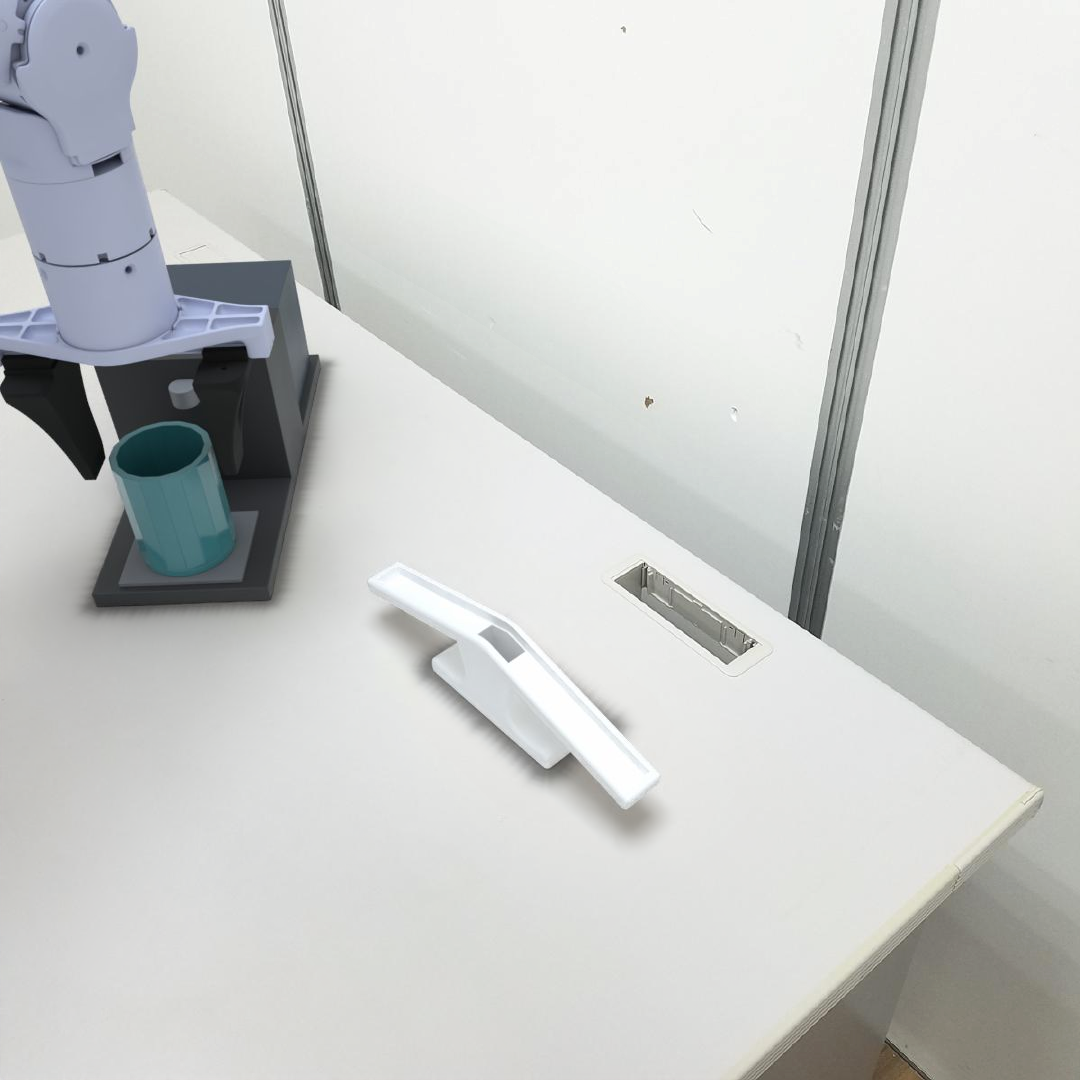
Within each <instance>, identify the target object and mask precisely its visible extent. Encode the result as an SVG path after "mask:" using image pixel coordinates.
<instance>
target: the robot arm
mask: <svg viewBox="0 0 1080 1080" xmlns="http://www.w3.org/2000/svg"><path fill="white" fill-rule="evenodd" d="M118 13H119V12H118V11H117V9H116V7H115V5H114V4H113V2H112V0H0V165H1V168H2V170H3V174H4V177H5V179H6V183H7V185H8V188H9V191H10V194H11V197H12V199H13V202H14V205H15V208H16V211H17V213H18V214H17V215H18V216H19V219H20V222H21V225H22V228H23V232H24V234H25V236H26V240H27V242H28V245H29V248H30V251H31V255H32V257H33V261H34V262H35V263H34V264H35V266H36V269H37V272H38V273H39V274H38V275H39V277H40V280H41V283H42V286H43V288H44V291H45V294H46V297H47V300H48V302H49V303H48V304H49V305H44V306H40V307H35V308H31V309H25V310H19V311H14V312H9V313H0V368H1V367H3V371H2V373H3V375H4V378H3V380H2V381H1V383H0V395H1V397H2V399H3V400H4V402H5V404H7V405H8V406H10V407H11V408H14V409H15V410H16V411H18V412H20V413H21V414H23V415H24V416H25V417H27V418H28V419H29V420H30V421H32V422H33V423H35V424H36V425H37V426H38V427H39V428H40V429H41V430H42V431H43V432H45V434H47V435H48V437H50V439H52V441H53V442H54V443H55V444H56V445H57V447H59V448H60V450H61V451H62V452H63V453H64V455H65V456H66V457H67V458H68V459H69V461H70V462H71V464H72V465H73V466H74V467H75V469H76V470H77V471H78V473H79V474H80V476H81V477H82V478H83V480H84V481H97V479H98V477H99V475H100V473H101V470H102V467H103V465H104V463H105V460H106V458H107V457H106V453H105V447H104V443H103V439H102V436H101V433H100V430H99V428H98V425H97V422H96V419H95V417H94V414H93V411H92V409H91V406H90V404H89V400H88V397H87V392H86V388H85V383H84V379H83V374H82V367H81V365H87V366H93V367H94V366H117V365H124V364H130V363H135V362H139V361H144V360H148V359H153V358H158V357H162V356H167V355H171V354H198V353H202V357H203V358H202V361H201V363H199V366H198V369H197V372H196V374H195V377H194V380H193V383H192V386H193V389H194V392H195V393H196V395H197V397H198V398H199V400H200V402H201V404H202V406H203V408H204V410H205V413H206V415H207V417H208V420H209V422H210V425H211V428H212V430H213V434H214V438H215V443H216V447H217V452H218V457H219V461H220V465H221V467H222V470H223V472H224V474H225V475H236V474H238V472H239V468H240V465H241V461H242V457H243V444H242V417H243V406H244V398H245V392H246V386H247V381H248V376H249V372H250V368H251V363H252V360H253V358H268V357H269V356H270V352H271V349H272V346H273V341H274V338H275V337H274V332H273V327H272V323H271V318H270V313H269V308H268V306H267V305H239V304H231V303H224V302H218V301H212V300H205V299H199V298H193V297H186V296H180V295H174V293H173V289H172V286H171V282H170V278H169V275H168V271H167V267H166V265H167V264H166V260H165V257H164V252H163V250H162V249H163V248H162V245H161V241H160V238H159V234H158V231H157V227H156V223H155V219H154V216H153V211H152V209H151V208H152V207H151V204H150V201H149V200H150V199H149V196H148V193H147V189H146V184H145V180H144V177H143V173H142V170H141V166H140V163H139V159H138V155H137V152H136V148H135V144H134V140H133V139H134V138H133V132H134V131H136V129H137V127H136V124H135V121H134V117H133V113H132V108H131V92H132V86H133V83H134V80H135V77H136V73H137V68H138V60H139V59H138V58H139V56H138V55H139V51H138V49H139V48H138V39H137V32H136V28H135V27H134V26H128V25H127V24H125V23H123V22H122V20H121V18H120V16H119V14H118Z"/></svg>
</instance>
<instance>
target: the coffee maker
mask: <svg viewBox="0 0 1080 1080" xmlns="http://www.w3.org/2000/svg"><path fill="white" fill-rule="evenodd" d="M166 267H167V271H168V275H169V278H170V282H171V286H172V289H173V293H174V295H180V296H186V297H193V298H199V299H205V300H212V301H218V302H224V303H231V304H239V305H267V306H268V308H269V313H270V318H271V323H272V327H273V332H274V337H275V338H274V341H273V346H272V349H271V352H270V356H269V357H268V358H253V360H252V363H251V368H250V372H249V376H248V381H247V386H246V392H245V398H244V406H243V417H242V444H243V457H242V461H241V465H240V468H239V472H238V474H236V475H225V474H224V472H223V470H222V467H221V465H220V461H219V457H218V452H217V447H216V443H215V438H214V434H213V430H212V428H211V425H210V422H209V420H208V417H207V415H206V413H205V410H204V408H203V406H202V404H201V402H200V400H199V398H198V397H197V395H196V393H195V392H194V389H193V386H192V383H193V380H194V377H195V374H196V372H197V369H198V366H199V363H201V361H202V358H203V357H202V353H198V354H171V355H167V356H162V357H158V358H153V359H148V360H144V361H139V362H135V363H130V364H124V365H117V366H93V368H94V371H95V374H96V377H97V380H98V383H99V386H100V388H101V391H102V395H103V398H104V401H105V404H106V407H107V409H108V412H109V415H110V419H111V421H112V424H113V427H114V429H115V433H116V435H117V439H118V442H119V441H120V440H121V439H122V438H123V437H124V436H126V435H127V434H129V433H131V432H133V431H135V430H137V429H139V428H141V427H143V426H147V425H151V424H155V423H159V422H170V421H182V422H187V423H191V424H196V425H198V426H199V427H201V428H202V429H203V430H205V431H206V432H207V433H208V435H209V437H210V440H211V442H212V446H213V450H214V453H215V457H216V461H217V464H218V468H219V472H220V475H221V479H222V483H223V486H224V490H225V494H226V497H227V501H228V505H229V508H230V512H231V515H232V519H233V523H234V526H235V532H236V544H235V547H234V549H233V551H232V552H231V554H230V555H229V556H228V557H227V558H226V559H225V560H224V561H223V562H221V563H220V564H219V565H217V566H215V567H214V568H212V569H210V570H207V571H205V572H202V573H199V574H196V575H191V576H184V577H172V576H166V575H162V574H159V573H157V572H154V571H153V570H151V569H150V568H149V567H148V566H147V565H146V563H145V562H144V559H143V557H142V555H141V552H140V549H139V546H138V544H137V541H136V538H135V535H134V532H133V529H132V527H131V524H130V521H129V518H128V515H127V512H126V510H125V508H124V509H123V511H122V514H121V516H120V519H119V521H118V524H117V526H116V529H115V532H114V534H113V538H112V540H111V543H110V545H109V548H108V550H107V553H106V556H105V558H104V561H103V564H102V566H101V569H100V571H99V574H98V576H97V580H96V582H95V585H94V587H93V590H92V593H91V597H92V599H93V602H94V605H95V606H96V607H117V606H118V607H119V606H142V605H143V606H144V605H146V606H147V605H170V604H194V603H196V604H197V603H219V602H220V603H221V602H222V603H223V602H244V601H245V602H246V601H270V600H271V599H272V595H273V591H274V585H275V581H276V577H277V572H278V567H279V562H280V558H281V554H282V548H283V544H284V539H285V534H286V531H287V525H288V521H289V515H290V511H291V506H292V503H293V502H292V501H293V496H294V493H295V489H296V485H297V480H298V479H297V478H298V473H299V469H300V464H301V460H302V455H303V450H304V446H305V441H306V436H307V431H308V428H309V427H308V426H309V422H310V418H311V417H310V416H311V412H312V408H313V403H314V400H315V399H314V398H315V394H316V389H317V384H318V380H319V375H320V371H321V365H322V364H321V359H320V355H319V354H318V353H316V354H315V353H314V354H310V351H309V348H308V347H309V346H308V343H307V337H306V332H305V326H304V321H303V315H302V310H301V304H300V300H299V295H298V288H297V284H296V279H295V273H294V268H293V263H292V260H291V259H282V260H281V259H280V260H279V259H278V260H258V261H257V260H256V261H253V260H252V261H229V262H227V261H226V262H205V263H203V262H201V263H178V264H177V263H176V264H175V263H174V264H166Z"/></svg>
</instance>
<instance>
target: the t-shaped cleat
mask: <svg viewBox="0 0 1080 1080" xmlns="http://www.w3.org/2000/svg"><path fill="white" fill-rule="evenodd" d="M366 585H367V587H368V590H369V592H370V593H371V594H373V595H375V596H376V597H378V598H380V599H381V600H383V601H385V602H387V603H388V604H391V605H392V606H394V607H396V608H397V609H400V610H401V611H402V612H405V614H408V615H410V616H411V617H413V618H415V619H417V620H419V621H420V622H422V623H424V624H426V625H428V626H429V627H431V628H433V629H434V630H437V631H438V632H440V633H441V634H444V635H445V636H447V637H449V638H450V639H452V640H454V641H456V642H455V643H454V644H452V645H451V646H449V647H447V648H446V649H445V650H443V651H441V652H440V653H438V654H437V655H435V656H433V657H432V658H431V667H432V670H433V672H434V673H436V674H437V676H439V677H440V678H441V679H442V680H443V681H444V682H445V683H447V684H448V685H449V686H450V687H451V688H453V689H454V690H455V691H456V692H457V693H458V694H459V695H460V696H461V697H462V698H464V699H465V700H466V701H467V702H468V703H469V704H470V705H472V706H473V707H474V708H475V709H476V710H478V711H479V713H481V714H482V715H483V716H485V717H486V718H487V719H488V720H489V721H490V722H491V723H492V724H494V725H495V727H497V728H498V729H499V730H500V731H501V732H502V733H504V734H505V735H506V736H507V737H508V738H510V739H511V740H512V741H513V742H514V743H515V744H516V745H517V746H518V747H519V748H521V749H522V750H523V751H524V752H525V753H526V754H528V756H530V757H531V758H532V759H533V760H534V761H536V762H537V763H538V764H539V765H540V766H541V767H542V768H544V769H546V770H549V769H551V768H552V767H553V766H555V765H556V764H558V762H560V761H561V760H562V759H564V758H565V757H567V756H568V755H570V753H571V754H572V755H573V756H574V758H576V760H577V761H578V762H579V763H580V764H581V765H582V766H583V768H585V769H586V770H587V772H588V773H589V774H590V775H591V776H592V777H593V778H594V780H595V781H597V783H598V784H599V785H600V786H601V787H602V788H603V789H604V790H605V791H606V792H607V793H608V794H609V796H610V797H611V798H612V799H613V800H614V801H615V802H616V804H618V806H619V807H620V808H622V809H623V810H628V809H630V808H631V807H632V806H633V805H635V804H636V803H638V801H639V800H642V798H643V797H645V796H646V795H647V794H648V793H649V792H651V791H652V790H653V789H654V788H655V787H657V786H658V785H659V783H660V781H661V778H662V775H661V773H660V772H659V770H657V769H656V768H655V767H654V766H653V765H652V764H651V763H650V762H649V761H648V760H647V758H646V757H645V756H644V755H643V754H642V753H640V751H639V750H638V749H637V748H636V747H635V746H634V745H633V744H632V743H631V741H629V740H628V739H627V738H626V737H625V736H624V734H622V732H621V731H620V730H619V729H618V728H617V727H616V726H615V724H613V723H612V722H611V721H610V720H609V718H607V717H606V715H604V714H603V712H602V711H601V710H600V709H599V708H598V707H597V706H596V705H595V704H594V702H592V701H591V699H590V698H589V697H588V696H587V695H586V694H585V693H583V691H582V690H581V689H580V687H578V686H577V685H576V684H575V683H574V682H573V681H572V680H571V679H570V677H568V675H567V674H566V673H564V671H563V670H561V668H560V667H559V666H558V665H557V664H556V663H555V662H554V661H553V660H552V659H551V658H550V657H549V655H547V654H546V652H545V651H544V650H543V649H542V648H541V647H540V646H539V645H538V643H536V642H535V641H534V639H532V638H531V637H530V635H528V633H527V632H526V631H525V630H524V629H523V628H521V627H520V625H518V624H517V623H515V622H514V621H513V620H512V619H511V618H509V617H507V616H505V615H503V614H502V613H500V612H497V611H495V610H494V609H491V608H489V607H488V606H485V605H484V604H482V603H480V602H478V601H476V600H474V599H472V598H470V597H468V596H466V595H464V594H462V593H460V592H459V591H456V590H454V589H453V588H450V587H448V586H446V585H444V584H443V583H440V582H439V581H437V580H435V579H433V578H431V577H429V576H427V575H425V574H423V573H421V572H419V571H417V570H415V569H414V568H411V567H410V566H408V565H405V564H404V563H401V562H400V561H397V562H395V563H393V564H391V565H390V566H388V567H386V568H385V569H383V570H381V571H380V572H378V573H376V574H374V575H373V576H371V577H369V578H368V579H367V581H366Z"/></svg>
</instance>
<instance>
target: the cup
mask: <svg viewBox="0 0 1080 1080" xmlns="http://www.w3.org/2000/svg"><path fill="white" fill-rule="evenodd" d="M108 462H109V466H110V470H111V473H112V475H113V479H114V481H115V484H116V487H117V489H118V492H119V495H120V498H121V501H122V504H123V507H124V509H125V510H126V512H127V515H128V518H129V521H130V524H131V527H132V529H133V532H134V535H135V538H136V541H137V544H138V546H139V549H140V552H141V555H142V557H143V559H144V562H145V563H146V565H147V566H148V567H149V568H150V569H151V570H153V571H154V572H157V573H159V574H162V575H166V576H172V577H184V576H191V575H196V574H199V573H202V572H205V571H207V570H210V569H212V568H214V567H215V566H217V565H219V564H220V563H221V562H223V561H224V560H225V559H226V558H227V557H228V556H229V555H230V554H231V552H232V551H233V549H234V547H235V544H236V532H235V526H234V523H233V519H232V515H231V512H230V508H229V505H228V501H227V497H226V494H225V490H224V486H223V483H222V479H221V475H220V472H219V468H218V464H217V461H216V457H215V453H214V450H213V446H212V442H211V440H210V437H209V435H208V433H207V432H206V431H205V430H203V429H202V428H201V427H199V426H198V425H196V424H191V423H187V422H182V421H170V422H159V423H155V424H151V425H147V426H143V427H141V428H139V429H137V430H135V431H133V432H131V433H129V434H127V435H126V436H124V437H123V438H122V439H121V440H120V441H119V440H118V442H116V443H115V444H114V445H113V447H112V448H111V451H110V454H109V455H108Z"/></svg>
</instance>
